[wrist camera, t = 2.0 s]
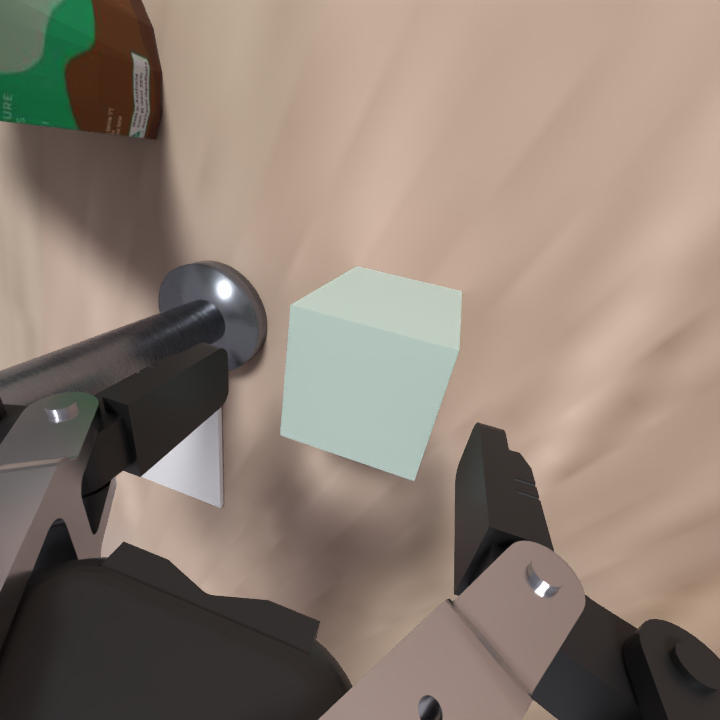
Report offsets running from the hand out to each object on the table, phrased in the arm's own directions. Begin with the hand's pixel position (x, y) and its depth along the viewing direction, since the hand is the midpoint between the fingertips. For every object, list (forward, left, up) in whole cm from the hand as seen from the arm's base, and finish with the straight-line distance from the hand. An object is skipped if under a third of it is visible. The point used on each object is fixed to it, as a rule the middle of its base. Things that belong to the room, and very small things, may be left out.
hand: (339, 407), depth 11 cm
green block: (0, 0, -7) cm, 7 cm away
